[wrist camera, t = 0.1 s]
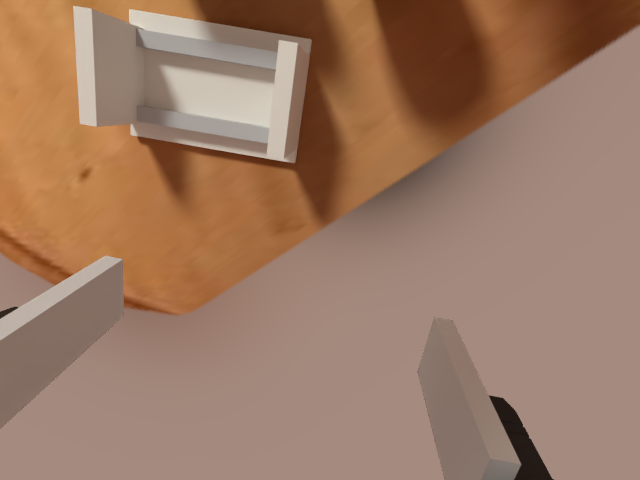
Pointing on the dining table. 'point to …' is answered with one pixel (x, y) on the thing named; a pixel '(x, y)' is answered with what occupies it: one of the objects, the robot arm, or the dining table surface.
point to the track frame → (192, 81)
